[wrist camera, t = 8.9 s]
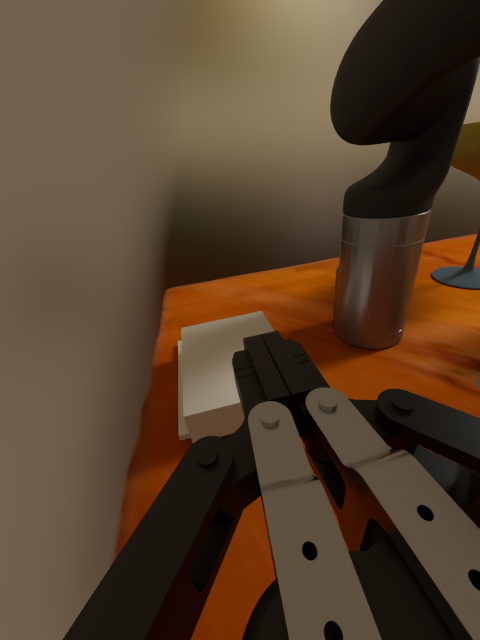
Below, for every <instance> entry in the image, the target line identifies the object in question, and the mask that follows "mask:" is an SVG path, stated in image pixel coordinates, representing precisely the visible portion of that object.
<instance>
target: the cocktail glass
mask: <svg viewBox="0 0 480 640" xmlns="http://www.w3.org/2000/svg"><path fill="white" fill-rule="evenodd" d="M451 166H453V167H454V168H456V169H459V170H461V171H463V172H466V173H468V174H469V175H471V176H474V177H475V178H477V179H478V180H479V181H480V122H475V123H470V124H464V125H462V129H461V132H460V135H459V139H458V142H457V145H456V149H455V152H454V156H453V159H452V162H451ZM479 244H480V229H479V232H478V235H477V238H476V240H475V243H474V246H473V249H472V252H471V254H470V256H469V259H468V261H467V263H466V265H465V266H464V267H460V266H454V267H444V268H439V269H436V270H435V271H433V272H432V277H433V278H434V279H435V280H436V281H438V282H440V283H443V284H445V285H449V286H453V287H458V288H464V289H480V269H479V268H474V263H475V257H476V254H477V250H478V247H479Z"/></svg>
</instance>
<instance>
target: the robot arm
mask: <svg viewBox="0 0 480 640" xmlns="http://www.w3.org/2000/svg"><path fill="white" fill-rule="evenodd" d="M479 63H480V0H383V1H382V2H381V3H380V5H379V6H378V7H377V8H376V9H375V11H374V12H373V13H372V14H371V15H370V16H369V18H368V19H367V20H366V21H365V23H364V24H363V25H362V27H361V28H360V30H359V31H358V32H357V34H356V35H355V37H354V38H353V40H352V42H351V44H350V45H349V47H348V49H347V51H346V53H345V54H344V57H343V59H342V61H341V64H340V66H339V69H338V72H337V75H336V78H335V81H334V85H333V90H332V95H331V104H330V110H331V111H330V112H331V120H332V123H333V126H334V129H335V130H336V132H337V134H338V135H339V136H340V137H341V138H342V139H343V140H345V141H346V142H348V143H351V144H356V145H373V144H381V143H388V142H390V146H389V150H388V153H387V157H386V158H385V160H384V161H383V163H382V164H381V165H380V166H379V167H378V168H377V169H376V170H375V171H373V172H372V173H371V174H369V175H368V176H366V177H365V178H363V179H361V180H360V181H358V182H356V183H354V184H353V185H351V186H350V187H349V188H348V189H347V190H346V192H345V195H344V204H343V220H342V234H341V249H340V263H339V266H338V267H337V270H336V285H335V300H334V315H333V321H334V322H335V332H336V334H337V336H338V337H339V338H340V339H342V340H343V341H345V342H347V343H349V344H351V345H354V346H357V347H362V348H368V349H382V348H388V347H391V346H394V345H395V344H397V343H398V342H399V341H400V340H401V338H402V334H403V330H404V325H405V321H406V317H407V313H408V309H409V304H410V300H411V296H412V291H413V287H414V283H415V278H416V274H417V270H418V265H419V261H420V257H421V252H422V248H423V244H424V239H425V234H426V230H427V226H428V222H429V217H430V213H431V208H432V204H433V200H434V197H435V194H436V192H437V191H438V189H439V188H440V186H441V184H442V183H443V181H444V179H445V178H446V175H447V173H448V171H449V168H450V166H451V162H452V159H453V156H454V152H455V149H456V145H457V142H458V139H459V135H460V132H461V129H462V125H463V122H464V119H465V116H466V112H467V109H468V106H469V102H470V99H471V95H472V92H473V88H474V84H475V81H476V77H477V72H478V68H479ZM243 344H244V350H242V351H237V352H234V355H233V358H232V366H233V371H234V377H235V382H236V388H237V391H238V395H239V399H240V402H241V406H242V410H243V413H244V417H245V419H244V421H243V423H242V425H241V426H240V427H239V428H238V429H237V430H236V431H235V432H234V433H232V434H231V435H229V436H227V437H226V438H224V439H223V438H221V437H218V436H206V437H203V438H201V439H199V440H197V441H196V442H194V443H193V444H192V445H191V446H190V448H189V449H188V451H187V452H186V454H185V455H184V457H183V458H182V460H181V461H180V463H179V464H178V466H177V467H176V469H175V470H174V472H173V473H172V475H171V476H170V478H169V479H168V481H167V482H166V484H165V485H164V487H163V488H162V490H161V491H160V493H159V494H158V496H157V498H156V499H155V501H154V502H153V504H152V505H151V507H150V508H149V510H148V511H147V513H146V514H145V516H144V517H143V519H142V520H141V522H140V523H139V525H138V526H137V528H136V529H135V531H134V532H133V534H132V535H131V537H130V538H129V540H128V541H127V543H126V544H125V546H124V547H123V549H122V551H121V552H120V554H119V555H118V557H117V558H116V560H115V561H114V563H113V564H112V566H111V567H110V569H109V570H108V572H107V573H106V575H105V576H104V578H103V579H102V581H101V582H100V584H99V585H98V587H97V588H96V590H95V591H94V593H93V594H92V596H91V597H90V599H89V601H88V602H87V603H86V605H85V607H84V608H83V610H82V611H81V613H80V614H79V616H78V617H77V619H76V620H75V622H74V623H73V625H72V626H71V628H70V629H69V631H68V632H67V634H66V635H65V637H64V638H63V640H190V639H191V637H192V635H193V632H194V630H195V627H196V625H197V622H198V620H199V617H200V615H201V613H202V610H203V608H204V605H205V603H206V600H207V598H208V595H209V593H210V590H211V588H212V586H213V583H214V581H215V578H216V576H217V573H218V571H219V568H220V566H221V563H222V561H223V559H224V556H225V554H226V551H227V549H228V546H229V544H230V541H231V539H232V536H233V534H234V532H235V529H236V527H237V524H238V522H239V519H240V517H241V514H242V511H243V509H244V508H246V507H247V506H248V505H249V504H251V503H252V502H253V501H255V500H256V499H257V498H258V497H260V496H261V500H262V506H263V511H264V517H265V522H266V527H267V533H268V539H269V544H270V550H271V556H272V561H273V567H274V572H275V578H276V580H274V581H273V582H272V583H271V584H270V586H269V587H268V588H267V589H266V590H265V591H264V593H263V594H262V596H261V597H260V599H259V600H258V602H257V604H256V606H255V608H254V610H253V611H252V613H251V616H250V618H249V621H248V623H247V626H246V629H245V632H244V635H243V638H242V640H480V418H478V417H475V416H473V415H470V414H467V413H465V412H462V411H459V410H456V409H454V408H451V407H448V406H446V405H443V404H440V403H438V402H435V401H432V400H430V399H427V398H424V397H421V396H419V395H416V394H413V393H411V392H408V391H405V390H401V389H388V390H385V391H383V392H381V393H380V394H379V396H378V399H377V400H354V399H349V398H347V397H346V396H345V395H344V394H343V393H341V392H339V391H338V390H335V389H332V388H330V386H329V385H328V383H327V382H326V381H325V379H324V378H323V376H322V375H321V373H320V372H319V371H318V369H317V368H316V366H315V365H314V363H313V362H311V359H310V358H309V356H308V355H307V354H306V352H305V350H304V349H303V347H302V346H301V345H300V344H298V343H297V342H295V341H294V340H292V339H289V340H285V341H284V340H283V339H282V337H281V336H280V334H279V332H278V331H272V332H268V333H263V334H259V335H255V336H250V337H246V338H243ZM300 437H301V438H302V440H303V442H304V444H305V450H304V448H303V445H302V442H301V439H300ZM419 445H420V446H419ZM421 446H422V447H421ZM423 447H424V448H423ZM425 448H426V449H425ZM427 449H428V450H427ZM429 450H431V451H429ZM432 451H433V452H432ZM434 452H435V453H434ZM436 453H437V454H436ZM438 454H439V455H438ZM440 455H441V456H440ZM442 456H443V457H442ZM444 457H446V458H448V459H446V458H444ZM449 459H450V460H449ZM451 460H452V461H451ZM453 461H454V462H453ZM455 462H456V463H455ZM457 463H458V464H457ZM460 464H461V465H460ZM310 466H311V467H310ZM311 468H312V470H313V471H314V473H315V475H316V477H315V476H314V474H313V472H312V470H311ZM329 502H330V503H331V505H332V507H333V509H334V511H335V513H336V516H337V518H338V522H339V526H340V529H341V532H342V534H341V532H340V529H339V526H338V524H337V521H336V518H335V516H334V513H333V511H332V508H331V505H330V503H329ZM342 535H343V537H342ZM343 538H344V539H343ZM344 540H345V542H346V545H347V547H348V549H349V551H348V550H347V547H346V545H345V542H344Z"/></svg>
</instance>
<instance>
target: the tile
mask: <svg viewBox="0 0 480 640" xmlns="http://www.w3.org/2000/svg"><path fill="white" fill-rule="evenodd" d="M272 331H274V330H273V328H272V326H271V325H270V323H269V321H268V320H267V318H266V317H265V315H264V313H263V312H262V311H259V312H254V313H250V314H245V315H240V316H236V317H231V318H226V319H221V320H217V321H212V322H207V323H203V324H198V325H193V326H189V327H184V328H181V337H182V376H183V415H184V419H185V422H186V425H187V428H188V431H189V434H190V437H191V440H192V442H193V443H194V442H196V441H197V440H199V439H201V438H203V437H206V436H218V437H222V436H225V435H229V434H232V433H234V432H235V431H236V430H237V429H238V428H239V427H240V426H241V425H242V423H243V421H244V419H245V417H244V413H243V410H242V406H241V402H240V399H239V395H238V391H237V388H236V382H235V377H234V371H233V366H232V358H233V355H234V352H237V351H242V350H244V344H243V338H246V337H250V336H255V335H259V334H263V333H268V332H272Z"/></svg>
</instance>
